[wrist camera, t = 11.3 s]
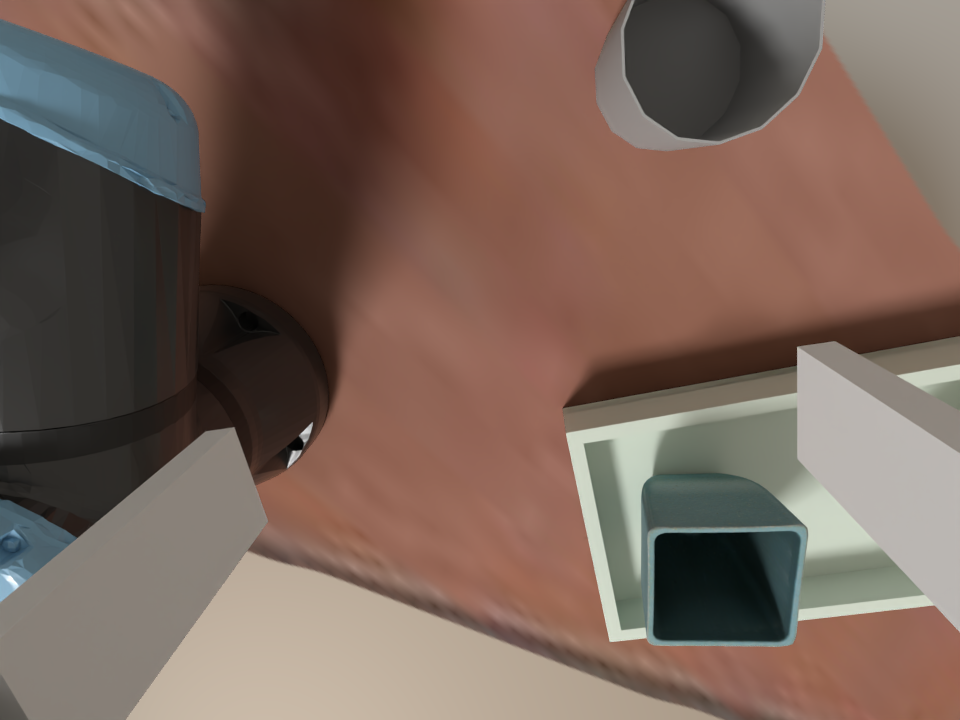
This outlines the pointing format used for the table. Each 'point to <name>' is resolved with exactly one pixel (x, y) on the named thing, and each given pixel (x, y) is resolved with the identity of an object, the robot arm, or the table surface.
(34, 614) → the robot arm
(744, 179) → the table surface
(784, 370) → the shallow serving tray
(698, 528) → the flower pot
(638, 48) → the cup
